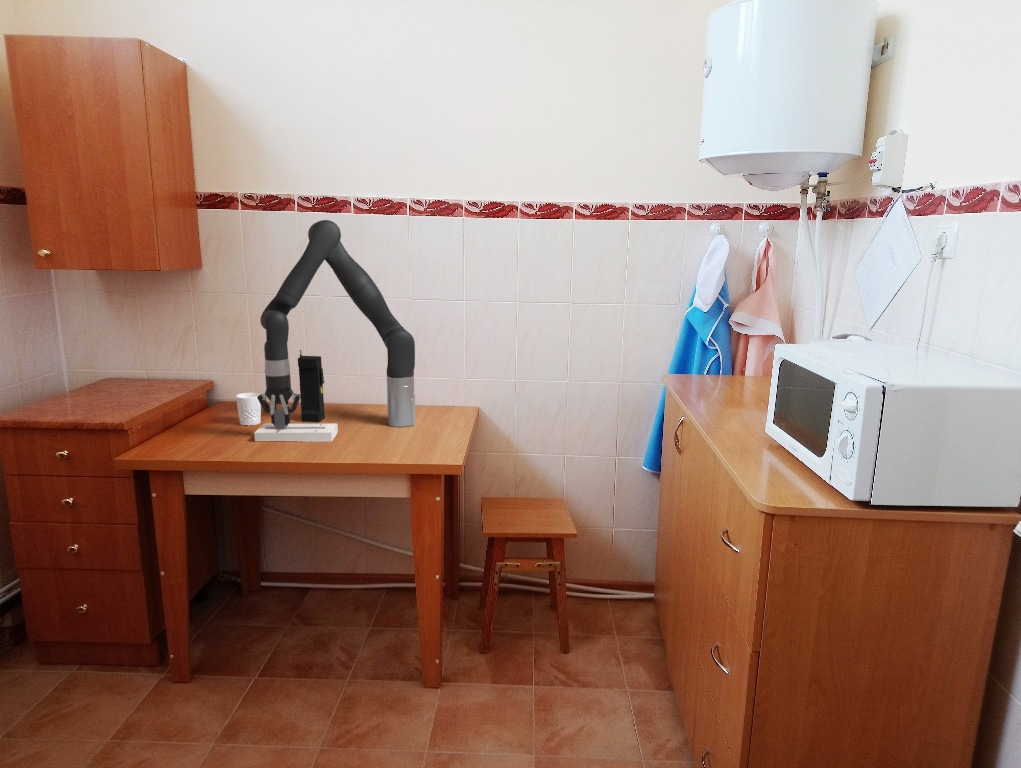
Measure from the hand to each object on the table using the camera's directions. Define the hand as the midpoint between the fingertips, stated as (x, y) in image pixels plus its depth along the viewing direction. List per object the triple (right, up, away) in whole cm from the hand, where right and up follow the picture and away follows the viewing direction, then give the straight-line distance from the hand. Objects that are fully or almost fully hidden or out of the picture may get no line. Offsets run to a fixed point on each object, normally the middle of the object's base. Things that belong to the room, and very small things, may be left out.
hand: (281, 424), depth 222 cm
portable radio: (+5, 0, +21) cm, 21 cm away
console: (+5, -4, +1) cm, 6 cm away
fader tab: (0, -1, 0) cm, 1 cm away
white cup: (-16, -1, +16) cm, 22 cm away
